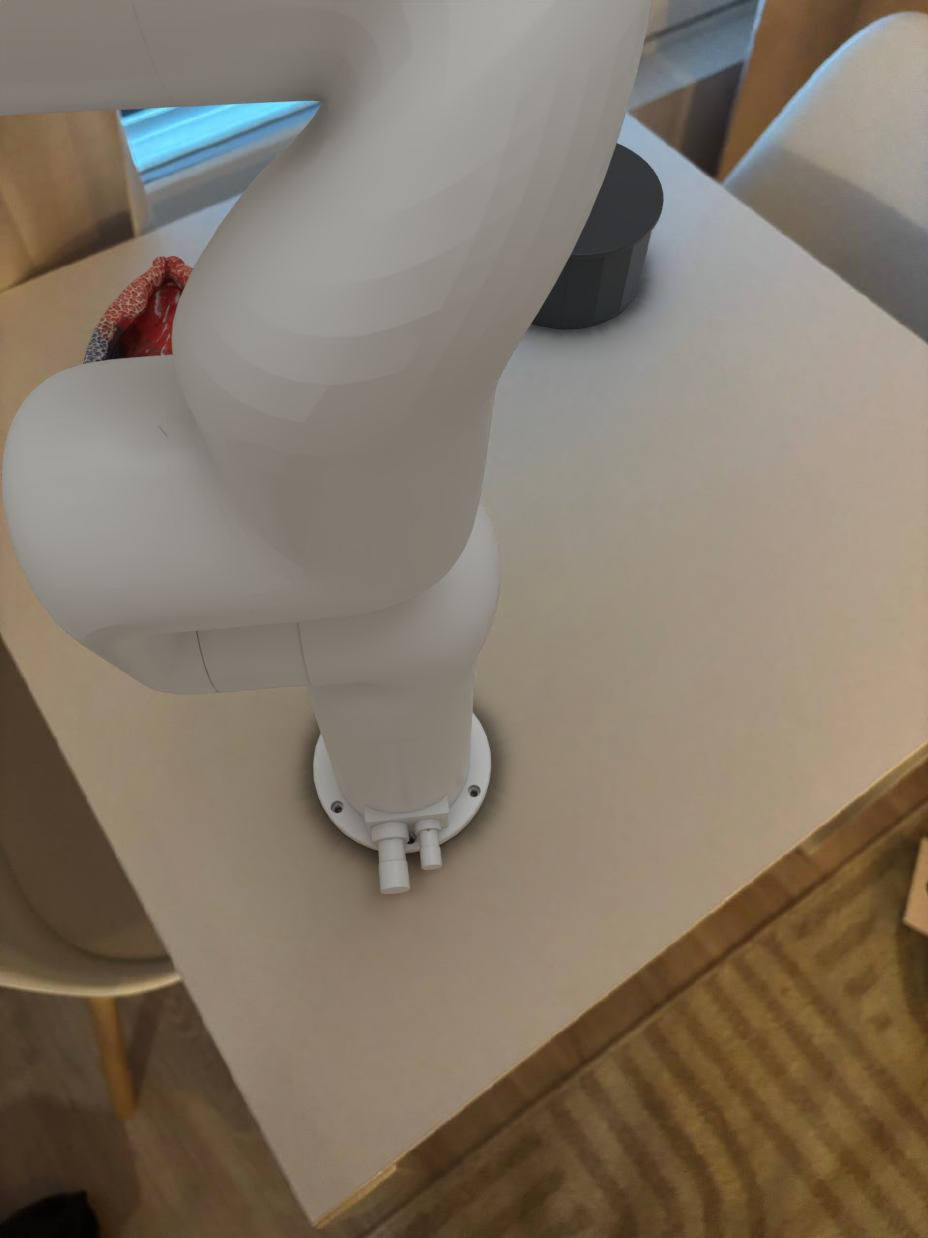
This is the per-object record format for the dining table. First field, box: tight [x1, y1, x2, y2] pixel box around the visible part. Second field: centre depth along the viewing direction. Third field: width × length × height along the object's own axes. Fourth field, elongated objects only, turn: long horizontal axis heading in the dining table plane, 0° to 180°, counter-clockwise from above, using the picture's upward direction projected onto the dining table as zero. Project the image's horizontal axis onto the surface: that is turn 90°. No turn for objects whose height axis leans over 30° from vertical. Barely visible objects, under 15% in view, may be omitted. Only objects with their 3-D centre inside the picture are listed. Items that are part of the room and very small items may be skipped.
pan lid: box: [569, 142, 665, 259], centre depth 82 cm, size 16×16×5 cm
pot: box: [531, 230, 653, 330], centre depth 87 cm, size 15×15×8 cm
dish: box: [82, 255, 193, 364], centre depth 80 cm, size 16×31×5 cm, turn 5°
